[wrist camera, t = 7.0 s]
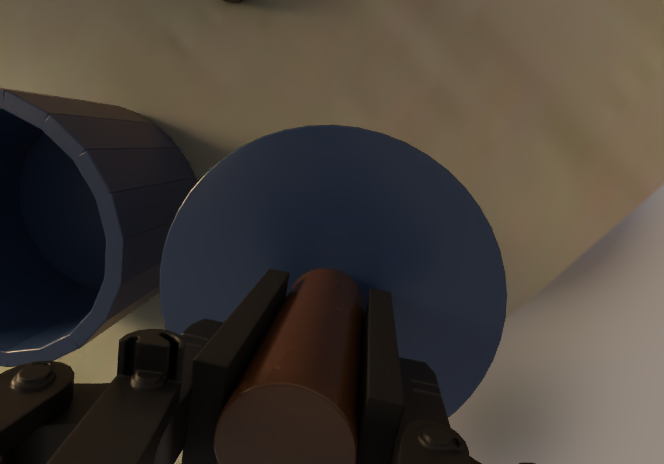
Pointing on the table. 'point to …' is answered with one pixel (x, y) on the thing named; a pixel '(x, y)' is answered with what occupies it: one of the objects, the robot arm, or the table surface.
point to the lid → (333, 281)
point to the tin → (79, 219)
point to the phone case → (232, 1)
